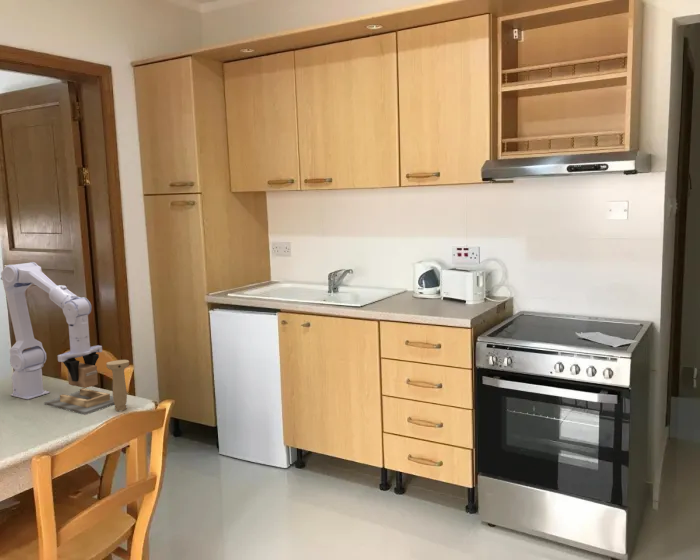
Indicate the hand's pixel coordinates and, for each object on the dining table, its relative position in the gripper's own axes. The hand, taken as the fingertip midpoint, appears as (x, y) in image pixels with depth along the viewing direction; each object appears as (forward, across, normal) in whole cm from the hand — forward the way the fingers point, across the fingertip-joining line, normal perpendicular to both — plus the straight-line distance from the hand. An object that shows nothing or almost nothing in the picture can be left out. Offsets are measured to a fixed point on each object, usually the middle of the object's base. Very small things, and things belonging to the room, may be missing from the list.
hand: (82, 378), depth 195 cm
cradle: (+8, 0, 0) cm, 8 cm away
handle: (+8, +1, -16) cm, 18 cm away
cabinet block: (+2, 0, 0) cm, 2 cm away
